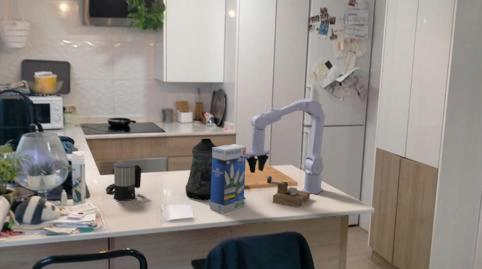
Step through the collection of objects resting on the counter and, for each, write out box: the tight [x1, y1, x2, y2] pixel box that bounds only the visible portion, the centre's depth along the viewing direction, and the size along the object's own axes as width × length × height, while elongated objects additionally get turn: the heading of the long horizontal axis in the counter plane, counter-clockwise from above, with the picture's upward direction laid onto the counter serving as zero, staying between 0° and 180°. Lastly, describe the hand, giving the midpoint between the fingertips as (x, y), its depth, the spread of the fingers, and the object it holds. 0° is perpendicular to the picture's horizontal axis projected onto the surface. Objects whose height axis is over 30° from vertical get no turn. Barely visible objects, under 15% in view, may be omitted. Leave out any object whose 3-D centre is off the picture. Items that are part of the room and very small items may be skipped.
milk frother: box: [105, 161, 142, 201], centre depth 208 cm, size 14×16×15 cm
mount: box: [272, 180, 311, 208], centre depth 213 cm, size 14×12×7 cm
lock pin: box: [266, 175, 284, 186], centre depth 215 cm, size 2×8×3 cm, turn 64°
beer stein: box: [185, 138, 217, 201], centre depth 215 cm, size 16×19×25 cm
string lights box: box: [209, 143, 247, 214], centre depth 197 cm, size 13×8×26 cm, turn 139°
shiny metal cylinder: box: [288, 186, 298, 196], centre depth 213 cm, size 4×4×6 cm
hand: (256, 171), depth 219 cm, fingers open, 5 cm apart
